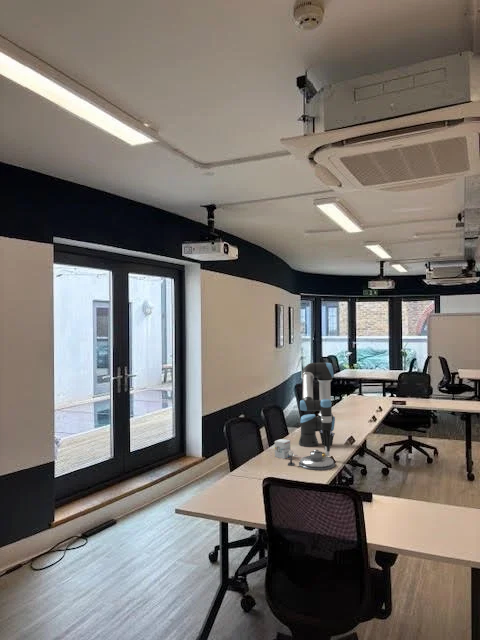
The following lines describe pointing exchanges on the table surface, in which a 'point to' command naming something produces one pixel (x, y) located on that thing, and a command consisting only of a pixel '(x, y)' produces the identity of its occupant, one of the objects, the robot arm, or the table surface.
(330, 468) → the base
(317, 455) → the cover
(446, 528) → the table surface
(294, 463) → the dial post
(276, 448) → the ink box
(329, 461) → the turntable
